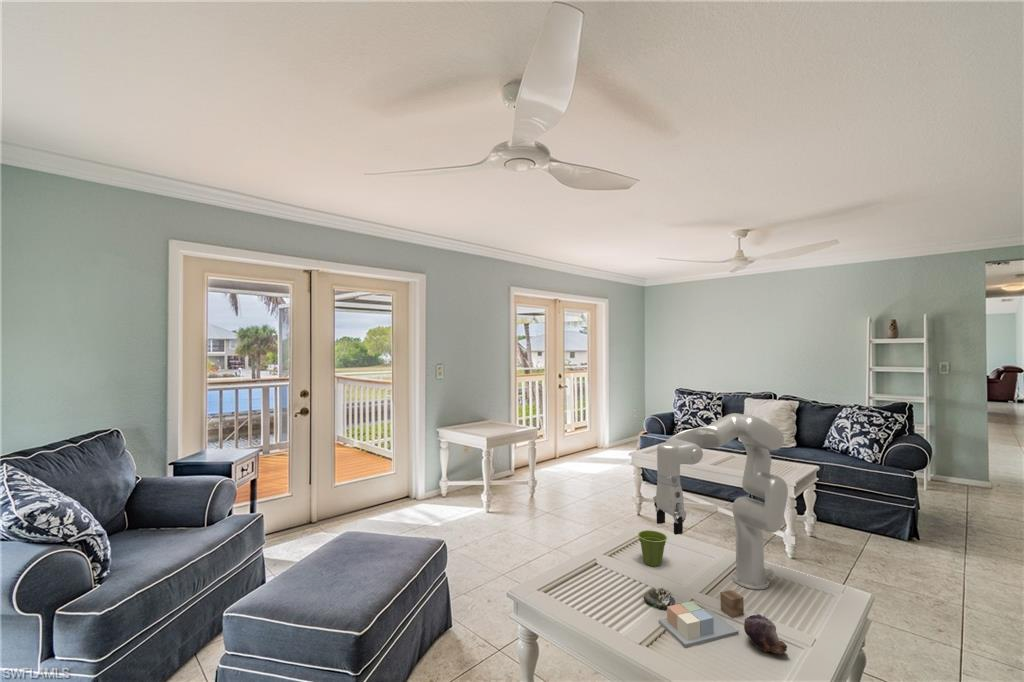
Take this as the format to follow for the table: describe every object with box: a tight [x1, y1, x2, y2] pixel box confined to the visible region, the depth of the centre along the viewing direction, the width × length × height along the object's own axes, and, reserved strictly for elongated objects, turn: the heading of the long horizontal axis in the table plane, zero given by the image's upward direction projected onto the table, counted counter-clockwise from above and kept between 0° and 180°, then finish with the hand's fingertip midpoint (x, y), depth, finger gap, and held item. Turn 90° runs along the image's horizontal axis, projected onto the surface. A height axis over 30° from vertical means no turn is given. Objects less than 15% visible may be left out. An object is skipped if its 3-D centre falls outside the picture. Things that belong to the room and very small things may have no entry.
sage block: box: [679, 600, 703, 612], centre depth 149 cm, size 5×5×5 cm
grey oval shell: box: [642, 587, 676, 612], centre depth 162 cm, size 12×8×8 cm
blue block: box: [690, 608, 714, 636], centre depth 144 cm, size 5×5×5 cm
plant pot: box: [637, 529, 668, 567], centre depth 191 cm, size 12×12×11 cm
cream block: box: [677, 612, 700, 640], centre depth 142 cm, size 5×5×5 cm
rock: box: [743, 613, 788, 655], centre depth 138 cm, size 12×9×10 cm
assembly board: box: [658, 608, 740, 649], centre depth 146 cm, size 20×13×1 cm, turn 108°
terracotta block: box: [666, 603, 689, 630], centre depth 147 cm, size 5×5×5 cm
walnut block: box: [719, 589, 745, 619], centre depth 155 cm, size 5×5×6 cm
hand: (669, 528), depth 160 cm, fingers open, 9 cm apart
